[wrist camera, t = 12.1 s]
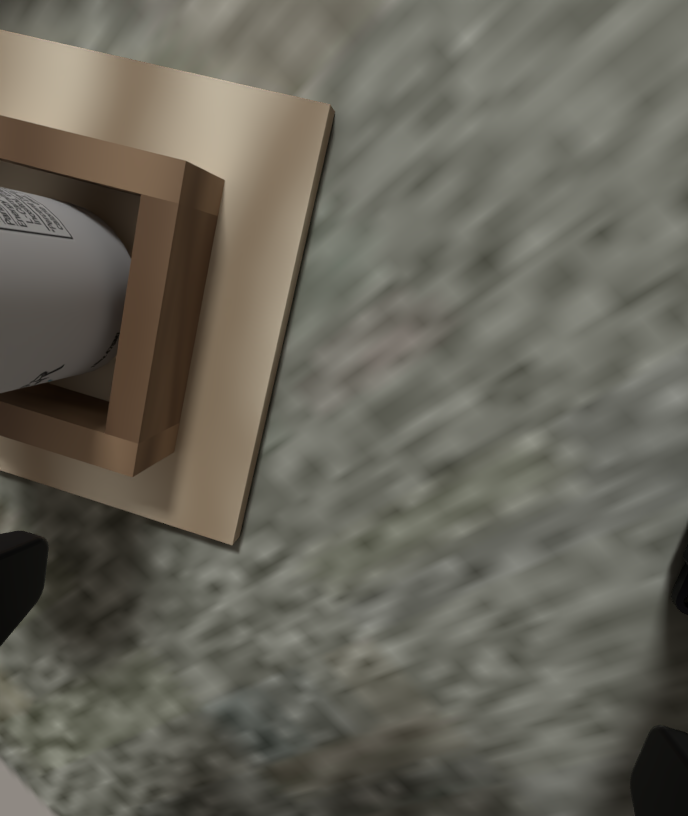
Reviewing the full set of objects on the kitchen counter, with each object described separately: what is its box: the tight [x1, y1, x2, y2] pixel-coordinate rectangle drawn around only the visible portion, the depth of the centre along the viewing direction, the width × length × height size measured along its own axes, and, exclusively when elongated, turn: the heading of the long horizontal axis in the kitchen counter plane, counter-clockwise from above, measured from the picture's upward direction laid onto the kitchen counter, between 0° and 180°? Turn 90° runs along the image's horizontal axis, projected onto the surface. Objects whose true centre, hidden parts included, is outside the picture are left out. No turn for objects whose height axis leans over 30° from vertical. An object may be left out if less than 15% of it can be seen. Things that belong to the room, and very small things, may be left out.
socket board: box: [0, 30, 335, 545], centre depth 20 cm, size 16×16×4 cm
